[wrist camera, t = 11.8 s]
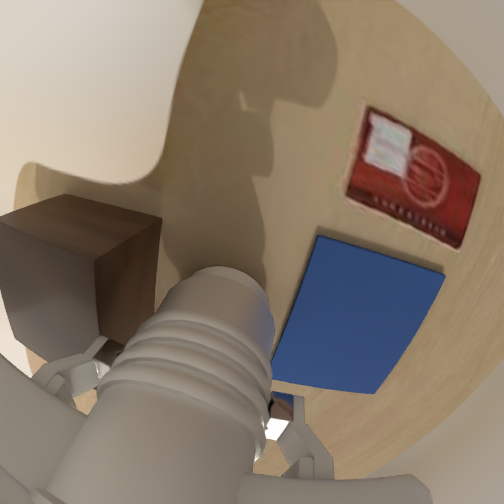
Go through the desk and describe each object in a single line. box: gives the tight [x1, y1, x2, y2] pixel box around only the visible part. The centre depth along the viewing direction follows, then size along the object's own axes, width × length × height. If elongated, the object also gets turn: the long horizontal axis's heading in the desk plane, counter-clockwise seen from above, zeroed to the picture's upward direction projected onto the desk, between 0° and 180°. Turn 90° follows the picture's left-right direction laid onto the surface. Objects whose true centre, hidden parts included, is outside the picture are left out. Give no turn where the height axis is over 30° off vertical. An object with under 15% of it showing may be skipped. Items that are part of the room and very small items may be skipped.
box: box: [0, 194, 162, 390], centre depth 15 cm, size 9×9×8 cm
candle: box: [29, 266, 275, 504], centre depth 10 cm, size 7×7×15 cm
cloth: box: [271, 235, 446, 394], centre depth 18 cm, size 12×10×1 cm
